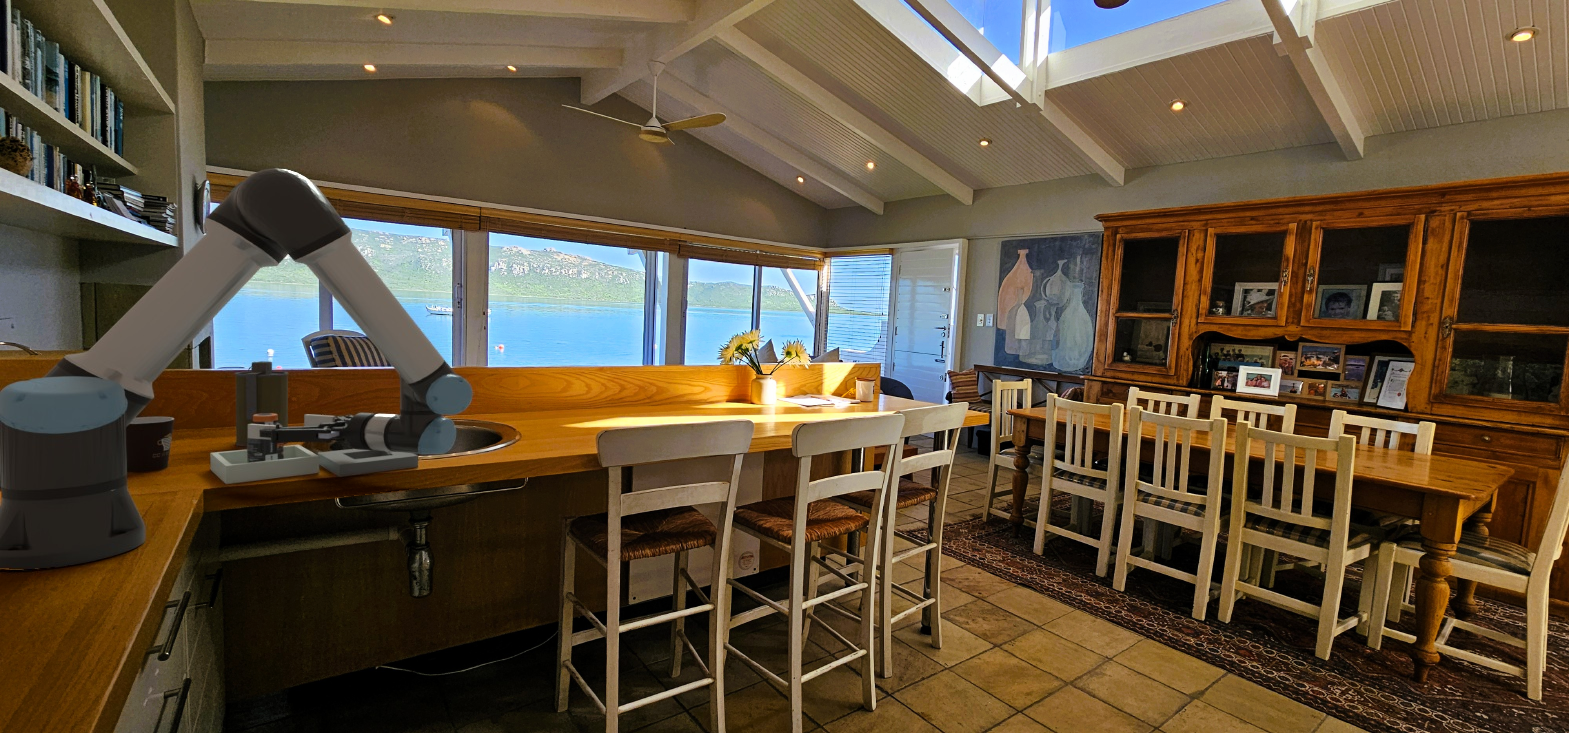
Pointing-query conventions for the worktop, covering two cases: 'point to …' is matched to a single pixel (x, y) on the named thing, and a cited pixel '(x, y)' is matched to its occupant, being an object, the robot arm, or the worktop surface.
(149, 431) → the coffee mug
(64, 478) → the robot arm
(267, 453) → the pill bottle
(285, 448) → the parts tray
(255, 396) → the canister
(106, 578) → the worktop surface
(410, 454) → the socket block
